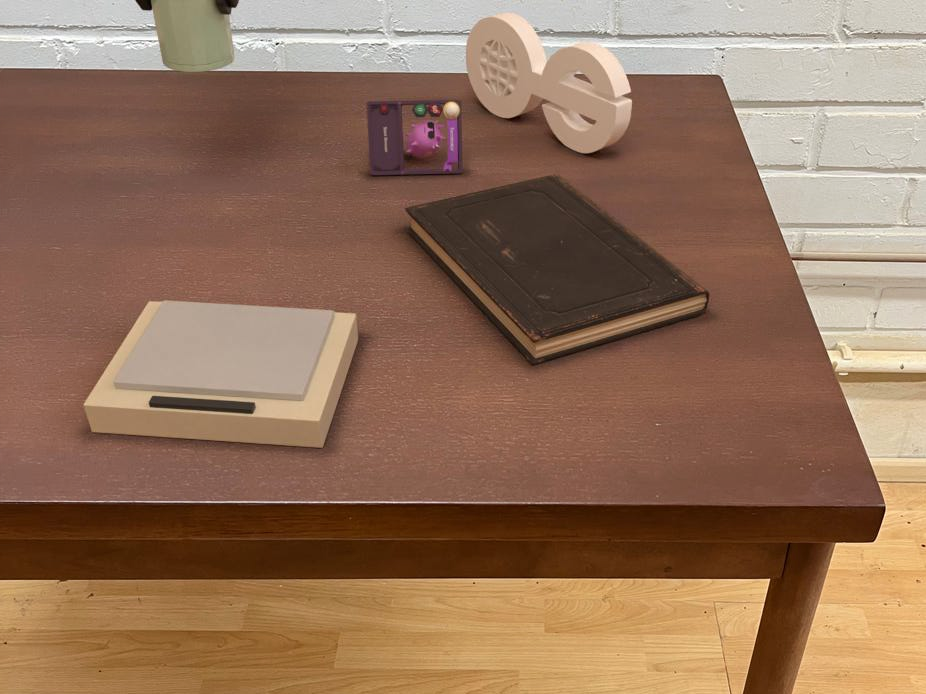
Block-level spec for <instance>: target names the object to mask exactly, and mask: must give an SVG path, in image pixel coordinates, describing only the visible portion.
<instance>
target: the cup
mask: <svg viewBox="0 0 926 694" xmlns="http://www.w3.org/2000/svg"><path fill="white" fill-rule="evenodd" d="M151 4H152V14H153V18H154V24H155V29H156V36H157V40H158V45H159V51H160V57H161V61H162V64H163V65H164V67H166V68H167V69H170V70H172V71H177V72H182V73H202V72H204V73H205V72H211V71H215V70H219V69H223V68H224V67H227V66H229V65H231V64H232V63H233V62H234V60H235V49H234V48H235V47H234V41H233V33H232V27H231V21H230V15H225V14H221V13H220V11H219V9H218V8H217V6H216V2H215V0H151Z"/></svg>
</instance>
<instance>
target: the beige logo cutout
mask: <svg viewBox="0 0 926 694" xmlns="http://www.w3.org/2000/svg"><path fill="white" fill-rule="evenodd" d="M539 37H540V36H539V35H538V34H537V32H536V31H535V29H534V27H533V26H531V24H530V23H529V22H528V21H527V20H526V19H524V18H523V17H522V16H520V15H518V14H515V13H512V12H501V13H498V14H493V15H490V16H487V17H483V18H481V19H479V20H478V21H477V22H476V23H475V24H474V25H473V27H472V28H471V29H470V32H469V35H468V36H467V40H466V44H465V67H466V71H467V75H468V76H467V77H468V79H469V82H470V85H471V87H472V90H473V91H474V94H475V95H476V97H477V99H478V100H479V102H480V103H481V104H482V105H483V107H484V108H485V109H486V110H487V111H488V112H490V113H491V114H493V115H494V116H497V117H500V118H503V119H511V118H514V117H517V116H521V115H523V114H526V113H529V112H531V111H533V110H535V109H536V108H537V107H538V106H539V105H540V104H541V102H542V100H546V101H548V102H546V103H544V104H541V107H542V111H543V115H544V117H545V120H546V122H547V124H548V126H549V129H550V130H551V131H552V134H554V135H555V137H556V138H557V139H558V140H559V141H560V142H561V144H563V145H564V146H565V147H567V148H569V149H571V150H573V151H574V152H578V153H580V154H591V153H594V152H597V151H600V150H602V149H605V148H607V147H609V146H612V145H614V144H615V143H617V142H619V140H620V139H621V138H622V137H623V136H624V135H625V133H626V131H627V129H628V127H629V125H630V122H631V117H632V107H633V99H631V98H628V97H626V96H624V95H627V94H629V93H631V92H632V90H631V86H630V82H629V79H628V76H627V74H626V72H625V70H624V67H623V66H622V65H621V63H620V61H619V60H618V59H617V57H616V56H615V55H614V54H613V53H612V52H611V51H610V50H609V49H607V48H606V47H604V46H602V45H600V44H597V43H595V42H592V41H591V42H590V41H581V42H578V43H575V44H572V45H569V46H566V47H563V48H561V49H558V50H556V51H555V52H554V53H553V54H552V55H551V56H550V57H549V59H548V60H547V55H546V52H545V49H544V45H543V44H542V42H541V39H540V38H539ZM578 72H579V73H581V74H582V75H584V76H585V77H586V78H587V79H588V80H589V81H590V82H591V83H590V82H587V81H585V80H582V79H580V78H578V77H575V75H576V74H577V73H578ZM581 116H583V117H586V118H588V119H591V120H592V121H593V120H594V121H595V122H594V124H592V123H589V122H588V121H586V120H585V119H583V117H581Z"/></svg>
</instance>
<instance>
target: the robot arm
mask: <svg viewBox="0 0 926 694" xmlns="http://www.w3.org/2000/svg"><path fill="white" fill-rule="evenodd" d="M134 1H135V2H136V4H137V5H138V6H139V8H140V10H142V11H147V12H151V11H153V9H152V4H151V0H134ZM215 2H216V6H217V8H218V9H219V11H220V13H221V14H225V15H229V16H230V15H231V14H232V10H233V9H236V8H237V7H238V4H239V3H240V0H215Z"/></svg>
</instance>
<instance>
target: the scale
mask: <svg viewBox="0 0 926 694" xmlns="http://www.w3.org/2000/svg"><path fill="white" fill-rule="evenodd" d="M357 319H358V318H357V313H356V312H355V313H353V312H352V313H351V312H337V311H336V312H335V310H332V309H316V308H301V307H299V308H298V307H284V306H283V307H282V306H267V305H266V306H264V305H250V304H233V303H232V304H231V303H215V302H197V301H184V300H183V301H181V300H162V301H153V300H150V301H148V302H147V304H146V305H145V306H144V309H143V310H142V311H141V313H140V315H139V316H138V318H137V319H136V321H135V323H134V324H133V326H132V327H131V329H130V330H129V332H128V333H127V334H126V337H125V338H124V340H123V342H122V343H121V344H120V346H119V348H118V349H117V351H116V352H115V354H114V356H113V357H112V359H111V361H110V362H109V363H108V365H107V366H106V368H105V370H104V371H103V373H102V374H101V376H100V377H99V378H98V381H97V382H96V384H95V385H94V387H93V389H92V390H91V391H90V393H89V394H88V396H87V398H86V400H85V401H84V403H83V409H84V412H85V415H86V418H87V421H88V425H89V427H90V431H91V433H101V434H112V435H113V434H115V435H128V436H129V435H130V436H140V437H141V436H142V437H143V436H144V437H158V438H172V439H184V440H185V439H188V440H200V441H201V440H202V441H214V442H215V441H216V442H230V443H243V444H258V445H259V444H260V445H271V446H272V445H273V446H287V447H288V446H290V447H303V448H314V449H315V448H317V449H318V448H319V449H322V448H324V445H325V442H326V440H327V436H328V433H329V430H330V427H331V424H332V421H333V418H334V415H335V413H336V409H337V406H338V402H339V400H340V397H341V394H342V390H343V388H344V385H345V382H346V378H347V376H348V373H349V369H350V367H351V363H352V361H353V357H354V354H355V351H356V348H357V345H358V342H359V332H358V320H357Z"/></svg>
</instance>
